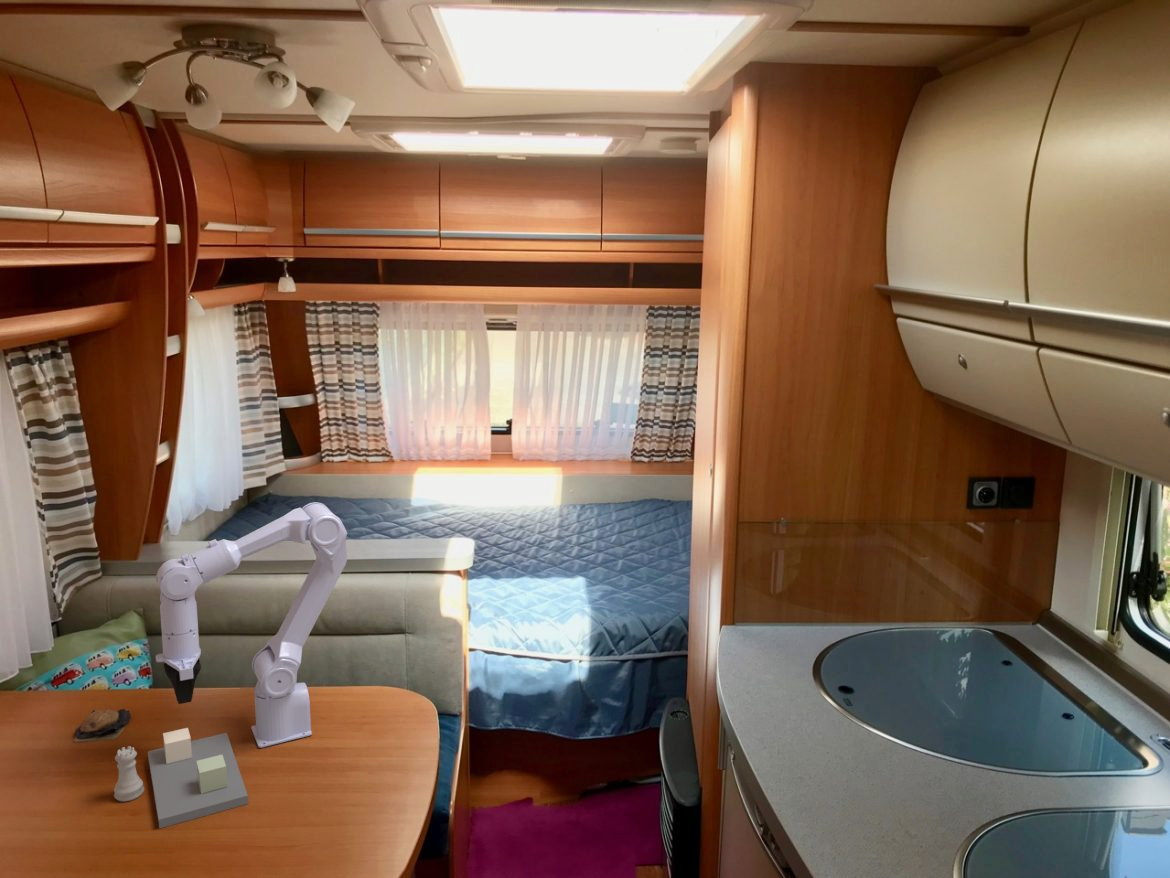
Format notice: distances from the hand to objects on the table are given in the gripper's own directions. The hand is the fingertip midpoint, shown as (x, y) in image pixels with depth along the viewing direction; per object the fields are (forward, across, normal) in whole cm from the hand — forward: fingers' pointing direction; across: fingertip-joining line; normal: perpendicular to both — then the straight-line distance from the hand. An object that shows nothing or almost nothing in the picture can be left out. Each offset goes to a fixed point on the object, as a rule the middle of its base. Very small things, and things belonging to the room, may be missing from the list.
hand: (184, 701), depth 150 cm
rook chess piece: (+11, +8, -10) cm, 17 cm away
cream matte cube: (+9, +2, -2) cm, 9 cm away
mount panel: (+10, +9, 0) cm, 14 cm away
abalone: (+11, -18, -13) cm, 25 cm away
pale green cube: (+9, +14, +2) cm, 17 cm away
